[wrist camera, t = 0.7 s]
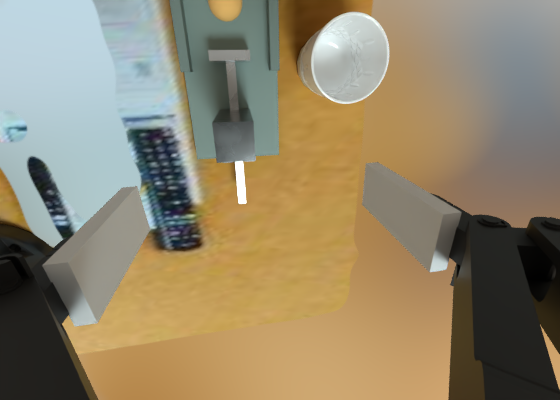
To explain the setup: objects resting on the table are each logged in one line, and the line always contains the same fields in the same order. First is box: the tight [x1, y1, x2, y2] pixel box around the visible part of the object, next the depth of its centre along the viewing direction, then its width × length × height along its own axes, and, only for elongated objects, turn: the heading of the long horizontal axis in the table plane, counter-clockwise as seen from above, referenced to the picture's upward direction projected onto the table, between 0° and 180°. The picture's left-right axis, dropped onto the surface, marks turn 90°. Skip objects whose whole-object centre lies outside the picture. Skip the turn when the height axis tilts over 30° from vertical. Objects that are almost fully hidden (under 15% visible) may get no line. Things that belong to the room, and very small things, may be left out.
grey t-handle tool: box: [208, 50, 256, 204], centre depth 30 cm, size 4×18×11 cm, turn 1°
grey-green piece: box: [170, 0, 279, 163], centre depth 29 cm, size 11×30×6 cm, turn 1°
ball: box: [208, 0, 242, 22], centre depth 28 cm, size 4×4×4 cm
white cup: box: [297, 12, 389, 104], centre depth 30 cm, size 8×8×10 cm
